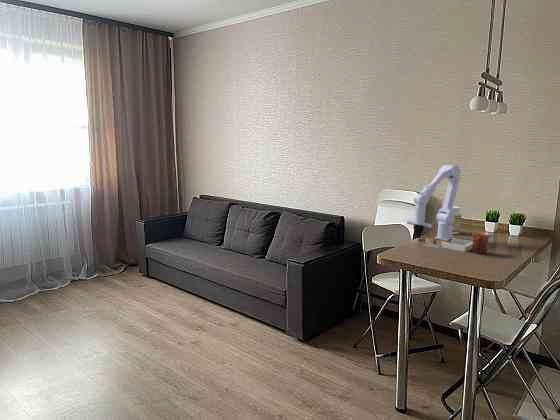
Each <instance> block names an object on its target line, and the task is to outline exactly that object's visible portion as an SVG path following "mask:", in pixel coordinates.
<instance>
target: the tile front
mask: <svg viewBox="0 0 560 420" xmlns="http://www.w3.org/2000/svg"><path fill="white" fill-rule="evenodd" d="M441 242H447V243H450V242H449V240H443V239H437V240H436V243H435V244H437V245H441Z"/></svg>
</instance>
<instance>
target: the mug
mask: <svg viewBox="0 0 560 420" xmlns="http://www.w3.org/2000/svg"><path fill="white" fill-rule="evenodd" d="M471 234H472V241H473V243H472V249H471V251H472V253H474V254H477V255H486V254H487V253H488V248H489V239H490V237H491V233H488V232H481V231H473V232H472V233H471Z"/></svg>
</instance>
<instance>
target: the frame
mask: <svg viewBox="0 0 560 420" xmlns="http://www.w3.org/2000/svg"><path fill="white" fill-rule="evenodd" d="M450 242H451V243H450ZM450 242H448V243H447V242H441V246H440V248H441V249H442V248H443V249H448V250H449V249H450V250H453V251H459V252H465V253H467V252H468V251H470V250H472V243H473V240H469V239H462V238H455V237H453V238H452V239H451V241H450Z"/></svg>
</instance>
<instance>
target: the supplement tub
mask: <svg viewBox="0 0 560 420" xmlns="http://www.w3.org/2000/svg"><path fill="white" fill-rule="evenodd" d="M452 209H453V211H454V212H455V215H454V217H455V220H454V222H453V223H452V227H453V230H452V235H458V234H459V233H460V232H461V223H462V212H461V206H456V205H453V208H452ZM446 213H447V212H446Z"/></svg>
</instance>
